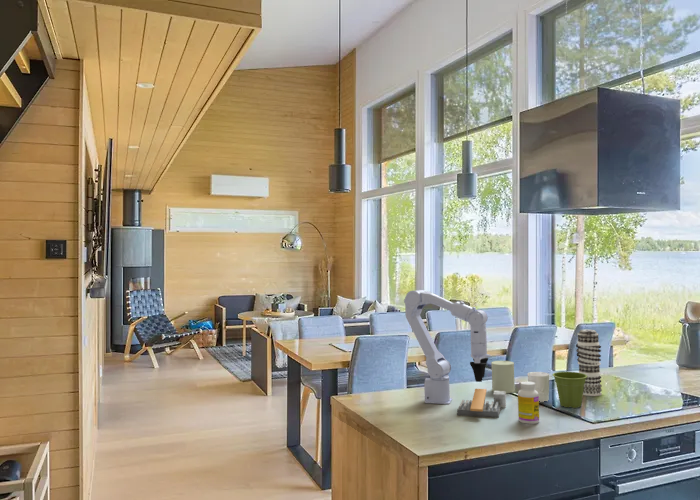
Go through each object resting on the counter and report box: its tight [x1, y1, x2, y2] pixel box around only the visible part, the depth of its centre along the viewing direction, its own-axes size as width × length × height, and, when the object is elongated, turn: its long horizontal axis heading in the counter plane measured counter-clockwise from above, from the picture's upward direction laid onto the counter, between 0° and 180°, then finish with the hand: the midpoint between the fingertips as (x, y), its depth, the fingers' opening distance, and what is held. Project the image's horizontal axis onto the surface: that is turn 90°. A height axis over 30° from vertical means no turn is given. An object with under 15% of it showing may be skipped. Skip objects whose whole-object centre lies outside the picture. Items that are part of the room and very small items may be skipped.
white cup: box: [527, 371, 550, 403], centre depth 216 cm, size 8×8×10 cm
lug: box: [492, 391, 507, 409], centre depth 207 cm, size 4×5×5 cm
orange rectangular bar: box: [470, 388, 487, 411], centre depth 201 cm, size 4×16×2 cm, turn 161°
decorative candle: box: [575, 328, 603, 397], centre depth 224 cm, size 9×9×25 cm
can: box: [490, 360, 516, 394], centre depth 233 cm, size 9×9×12 cm
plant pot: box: [552, 371, 587, 409], centre depth 207 cm, size 12×12×11 cm
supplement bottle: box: [517, 381, 540, 425], centre depth 189 cm, size 7×7×13 cm
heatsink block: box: [456, 399, 502, 419], centre depth 201 cm, size 14×10×4 cm
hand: (479, 379), depth 210 cm, fingers open, 7 cm apart
